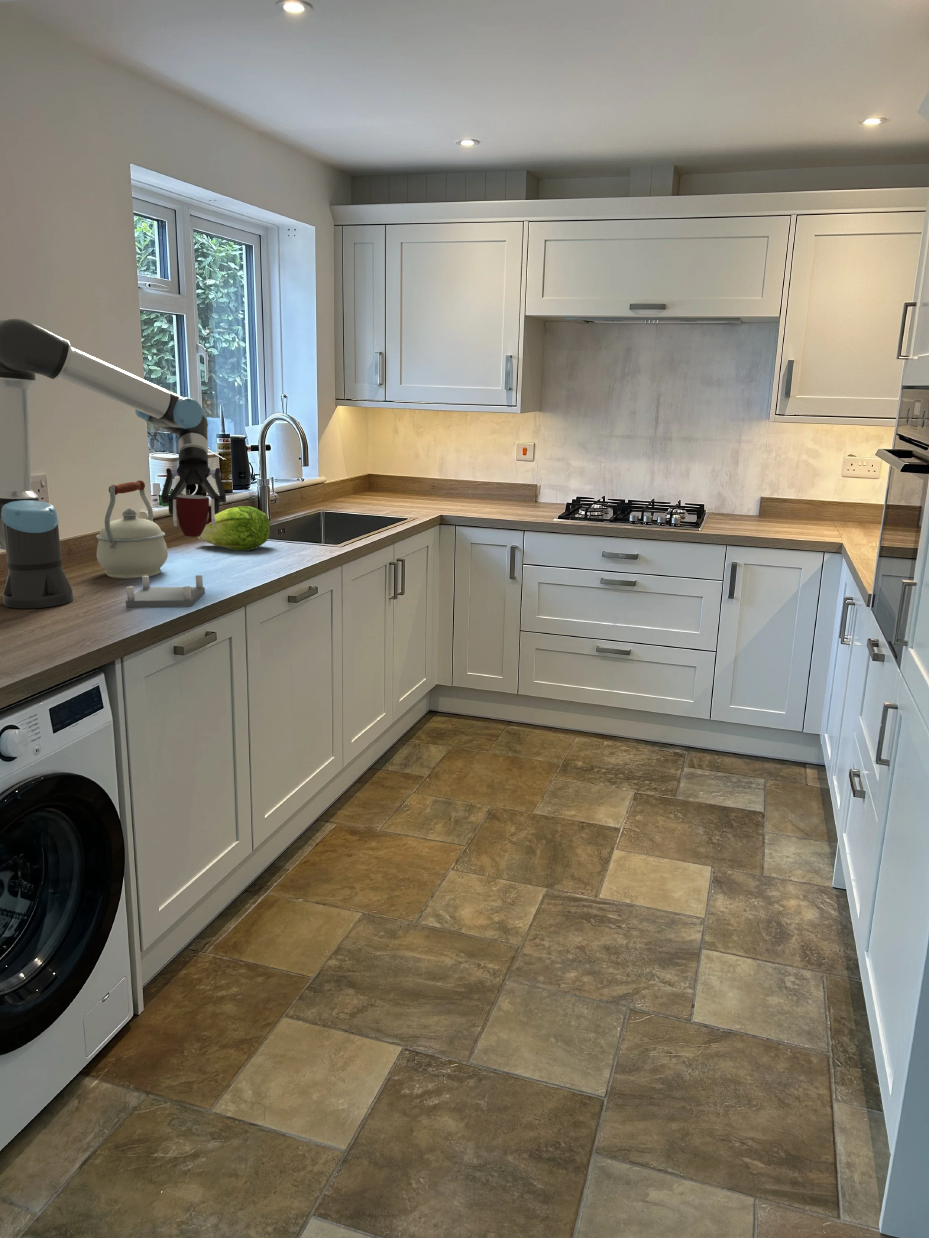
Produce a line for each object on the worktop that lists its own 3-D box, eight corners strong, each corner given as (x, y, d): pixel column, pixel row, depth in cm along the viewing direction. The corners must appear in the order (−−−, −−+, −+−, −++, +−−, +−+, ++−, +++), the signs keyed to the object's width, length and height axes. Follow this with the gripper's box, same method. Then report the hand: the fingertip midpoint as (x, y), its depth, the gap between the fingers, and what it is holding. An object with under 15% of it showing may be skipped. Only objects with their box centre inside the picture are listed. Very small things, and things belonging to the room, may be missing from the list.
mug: (198, 531, 246) (198, 493, 244) (221, 535, 243) (222, 497, 240) (169, 535, 237) (169, 495, 235) (193, 539, 234) (193, 499, 231)
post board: (126, 607, 216) (124, 588, 215) (143, 593, 231) (142, 575, 230) (191, 606, 217) (190, 587, 216) (204, 592, 232) (203, 575, 231)
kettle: (143, 583, 243) (136, 487, 237) (80, 580, 246) (71, 485, 240) (189, 566, 266) (184, 478, 260) (131, 563, 270) (124, 477, 264)
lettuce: (213, 521, 308) (187, 503, 294) (278, 514, 300) (254, 496, 287) (209, 562, 304) (181, 546, 290) (274, 556, 296) (250, 539, 283)
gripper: (235, 463, 253) (238, 530, 242) (152, 464, 248) (151, 532, 237) (234, 445, 247) (237, 512, 235) (149, 445, 242) (148, 514, 230)
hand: (194, 522), depth 236 cm, fingers closed on mug, 9 cm apart
